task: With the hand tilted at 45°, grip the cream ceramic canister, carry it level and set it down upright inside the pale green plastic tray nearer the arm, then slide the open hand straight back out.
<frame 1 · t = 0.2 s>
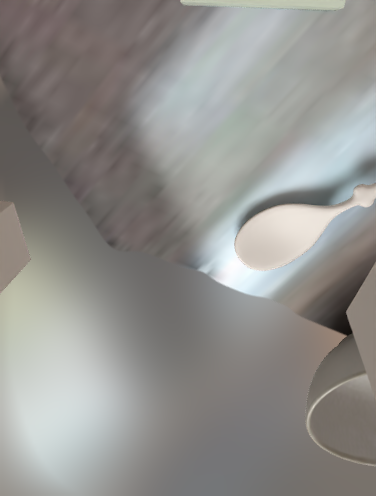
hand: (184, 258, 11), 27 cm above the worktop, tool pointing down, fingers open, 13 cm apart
decorative bowl: (373, 349, 52), on the worktop
spoon: (349, 188, 37), on the worktop
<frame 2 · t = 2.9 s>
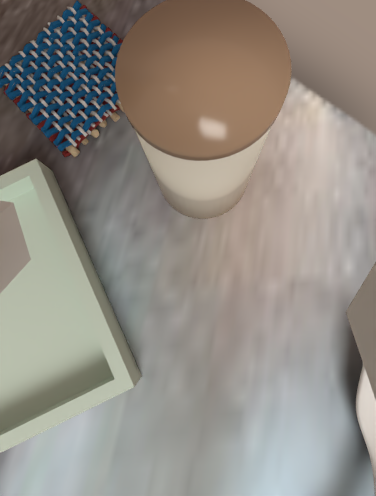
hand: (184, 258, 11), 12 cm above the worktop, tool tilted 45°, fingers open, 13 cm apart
woven mat: (81, 87, 27), on the worktop
tray: (14, 307, 24), on the worktop
canister: (202, 175, 25), on the worktop
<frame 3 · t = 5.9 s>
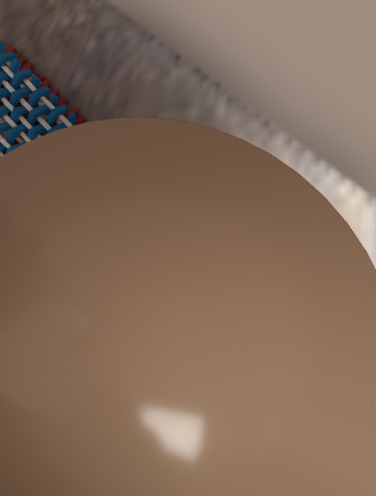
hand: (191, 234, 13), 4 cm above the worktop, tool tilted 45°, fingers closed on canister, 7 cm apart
woven mat: (8, 164, 19), on the worktop
canister: (183, 311, 16), on the worktop, touching gripper
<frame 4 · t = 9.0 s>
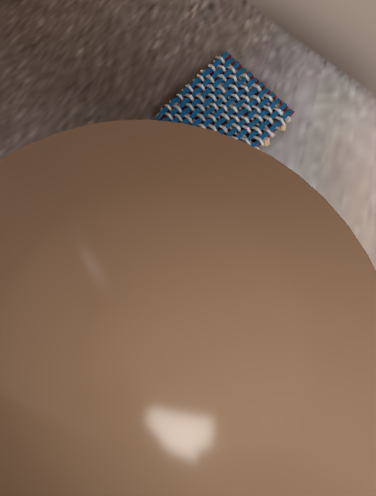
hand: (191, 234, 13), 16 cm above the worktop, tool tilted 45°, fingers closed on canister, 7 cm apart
woven mat: (223, 123, 32), on the worktop
canister: (183, 312, 16), point 13 cm above the worktop, touching gripper
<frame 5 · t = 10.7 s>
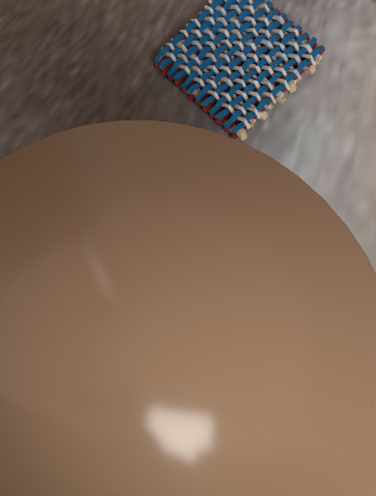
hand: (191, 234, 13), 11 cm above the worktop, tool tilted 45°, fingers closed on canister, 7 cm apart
woven mat: (236, 68, 26), on the worktop
canister: (183, 312, 16), point 7 cm above the worktop, touching gripper
when the fingers open (5 cm above the worktop, at t = 12.3 s): canister stays where it is, resting on tray.
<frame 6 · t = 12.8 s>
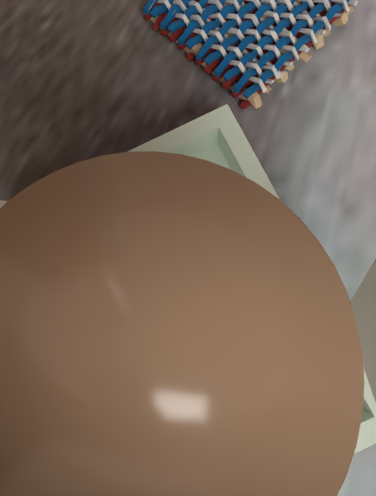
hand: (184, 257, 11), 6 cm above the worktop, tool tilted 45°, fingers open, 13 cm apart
woven mat: (247, 22, 21), on the worktop
tray: (185, 309, 18), on the worktop
canister: (183, 311, 17), point 1 cm above the worktop, touching tray
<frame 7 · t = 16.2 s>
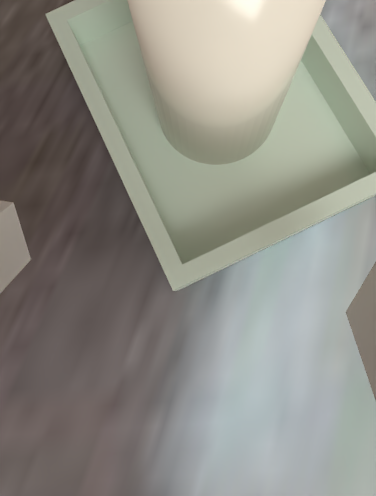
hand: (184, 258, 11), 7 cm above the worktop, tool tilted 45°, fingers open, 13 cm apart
tray: (216, 113, 19), on the worktop
canister: (216, 108, 19), point 1 cm above the worktop, touching tray
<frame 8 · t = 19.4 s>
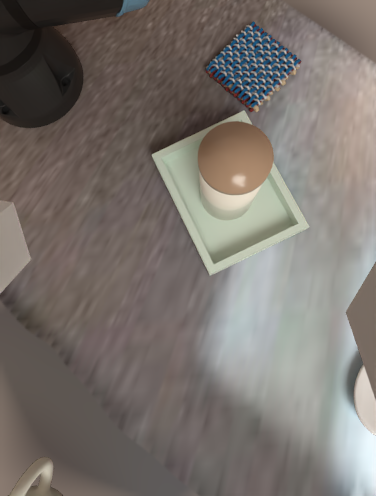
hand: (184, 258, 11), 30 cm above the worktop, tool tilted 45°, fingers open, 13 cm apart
woven mat: (251, 72, 45), on the worktop
tray: (226, 195, 42), on the worktop
canister: (226, 194, 42), point 1 cm above the worktop, touching tray
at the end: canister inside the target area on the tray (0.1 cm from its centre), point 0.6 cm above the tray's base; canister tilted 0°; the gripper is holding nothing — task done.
